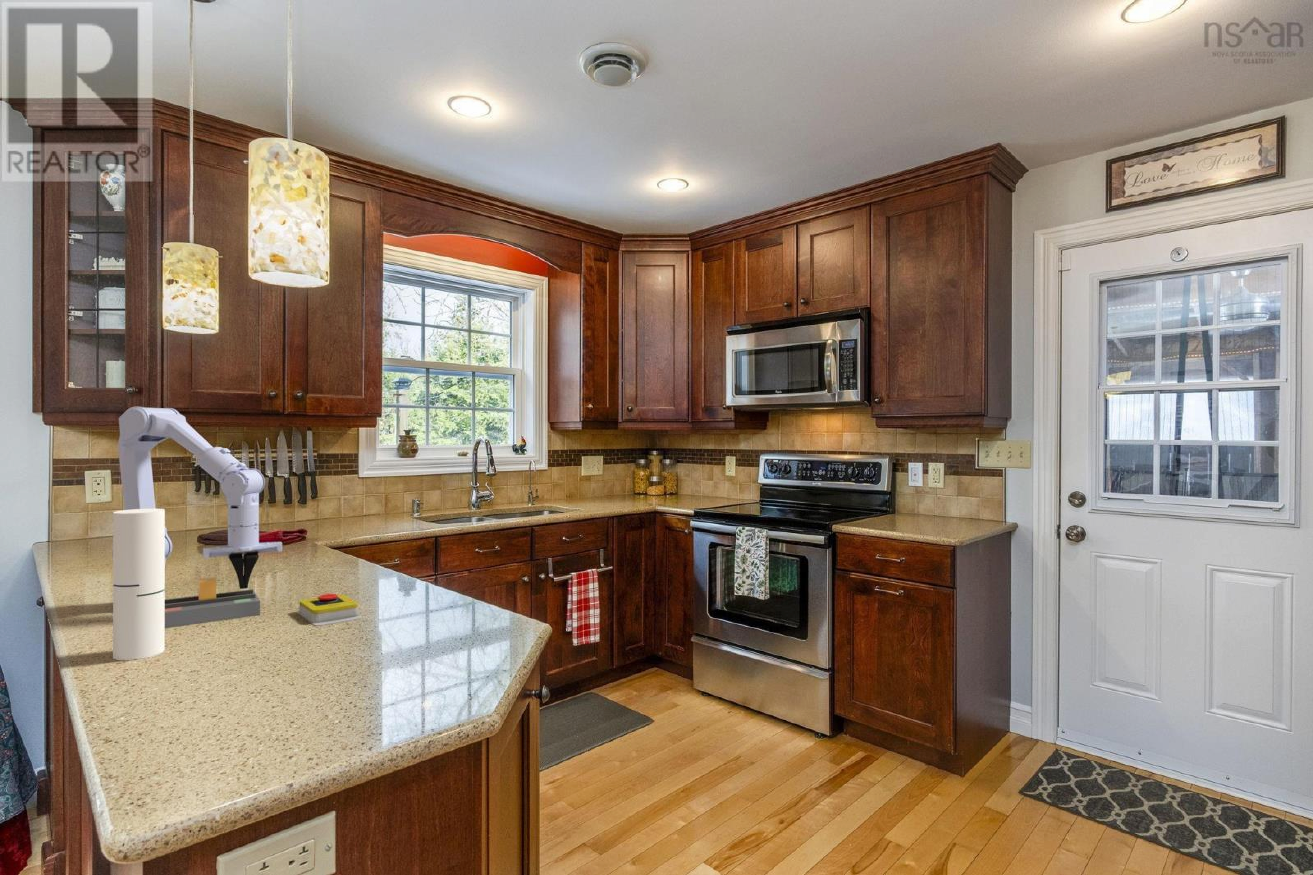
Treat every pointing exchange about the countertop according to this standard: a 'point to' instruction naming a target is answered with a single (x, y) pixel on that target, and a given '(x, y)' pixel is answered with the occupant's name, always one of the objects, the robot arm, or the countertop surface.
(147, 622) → the cylindrical container
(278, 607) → the countertop surface
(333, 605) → the emergency button
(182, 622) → the switch panel
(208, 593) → the knob
